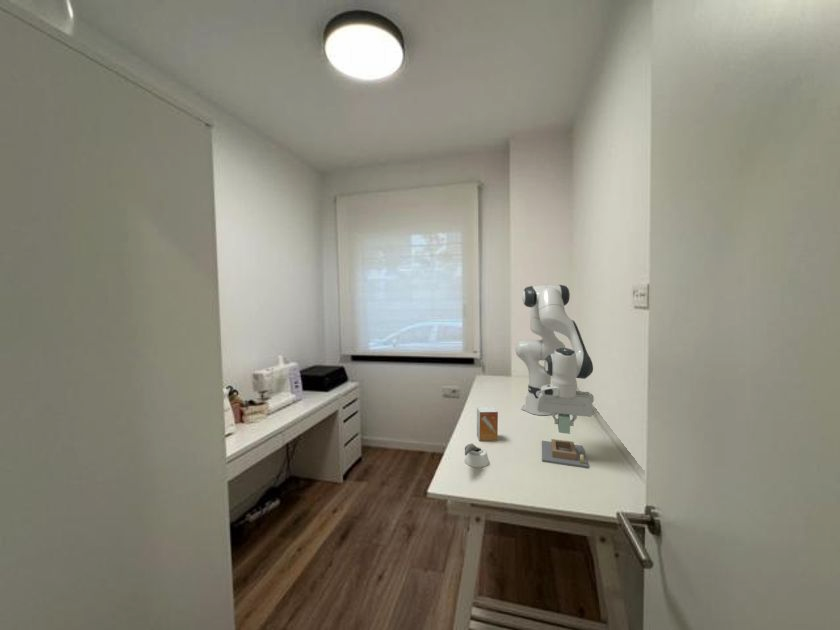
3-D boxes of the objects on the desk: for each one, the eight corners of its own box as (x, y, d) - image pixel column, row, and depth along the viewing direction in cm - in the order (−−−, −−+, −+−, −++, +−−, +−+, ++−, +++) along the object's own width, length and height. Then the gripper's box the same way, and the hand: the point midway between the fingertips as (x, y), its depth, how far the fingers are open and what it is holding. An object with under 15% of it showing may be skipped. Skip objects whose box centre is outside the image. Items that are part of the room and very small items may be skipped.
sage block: (558, 432, 133) (559, 417, 133) (557, 426, 140) (558, 411, 140) (569, 433, 132) (570, 418, 132) (568, 427, 139) (568, 412, 138)
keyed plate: (541, 442, 148) (541, 433, 148) (582, 447, 143) (582, 438, 143) (542, 461, 131) (542, 451, 131) (588, 468, 126) (588, 458, 126)
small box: (479, 441, 149) (479, 412, 149) (476, 435, 156) (476, 407, 155) (497, 440, 150) (498, 411, 149) (494, 435, 156) (494, 406, 155)
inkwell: (491, 458, 134) (491, 433, 133) (480, 481, 117) (480, 453, 117) (468, 454, 137) (468, 430, 137) (454, 476, 121) (454, 448, 120)
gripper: (592, 390, 135) (591, 424, 136) (537, 386, 142) (537, 419, 142) (595, 394, 129) (594, 430, 130) (537, 390, 136) (536, 424, 136)
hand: (563, 424), depth 136 cm, fingers closed on sage block, 4 cm apart
